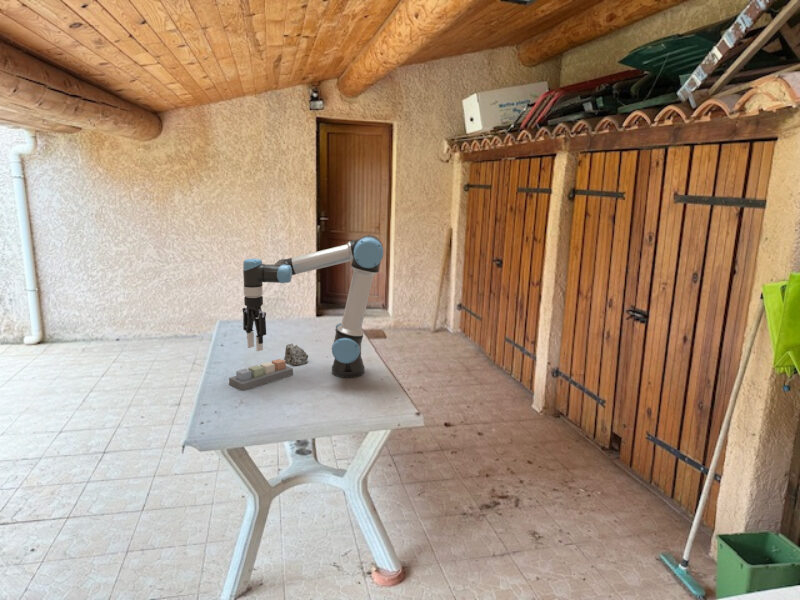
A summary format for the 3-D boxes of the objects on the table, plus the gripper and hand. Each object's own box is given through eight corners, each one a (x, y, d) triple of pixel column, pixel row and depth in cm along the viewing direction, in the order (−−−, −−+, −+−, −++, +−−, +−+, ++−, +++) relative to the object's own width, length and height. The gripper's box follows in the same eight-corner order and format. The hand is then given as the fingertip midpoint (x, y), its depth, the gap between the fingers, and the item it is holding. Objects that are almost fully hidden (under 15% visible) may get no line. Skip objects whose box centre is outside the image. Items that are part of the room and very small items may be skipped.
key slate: (251, 380, 217) (251, 371, 217) (242, 382, 214) (242, 373, 213) (245, 377, 220) (245, 368, 219) (236, 380, 217) (236, 371, 216)
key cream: (274, 372, 227) (274, 364, 226) (266, 375, 223) (266, 366, 222) (268, 370, 229) (268, 361, 228) (260, 372, 226) (260, 364, 225)
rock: (276, 364, 248) (278, 353, 241) (287, 350, 255) (289, 339, 247) (300, 377, 247) (302, 366, 240) (310, 363, 254) (313, 351, 246)
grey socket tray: (293, 374, 231) (292, 368, 230) (242, 391, 212) (242, 384, 211) (279, 369, 237) (279, 363, 237) (229, 384, 218) (229, 377, 217)
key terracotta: (285, 369, 231) (285, 361, 230) (277, 371, 228) (277, 363, 227) (279, 367, 234) (279, 358, 233) (271, 369, 230) (271, 361, 230)
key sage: (263, 376, 222) (263, 367, 221) (254, 379, 219) (254, 370, 218) (257, 373, 225) (257, 365, 224) (248, 376, 221) (248, 367, 221)
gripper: (274, 298, 211) (275, 351, 216) (248, 291, 223) (250, 342, 228) (259, 300, 205) (260, 355, 210) (233, 293, 217) (235, 345, 222)
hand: (255, 348), depth 219 cm, fingers open, 6 cm apart
